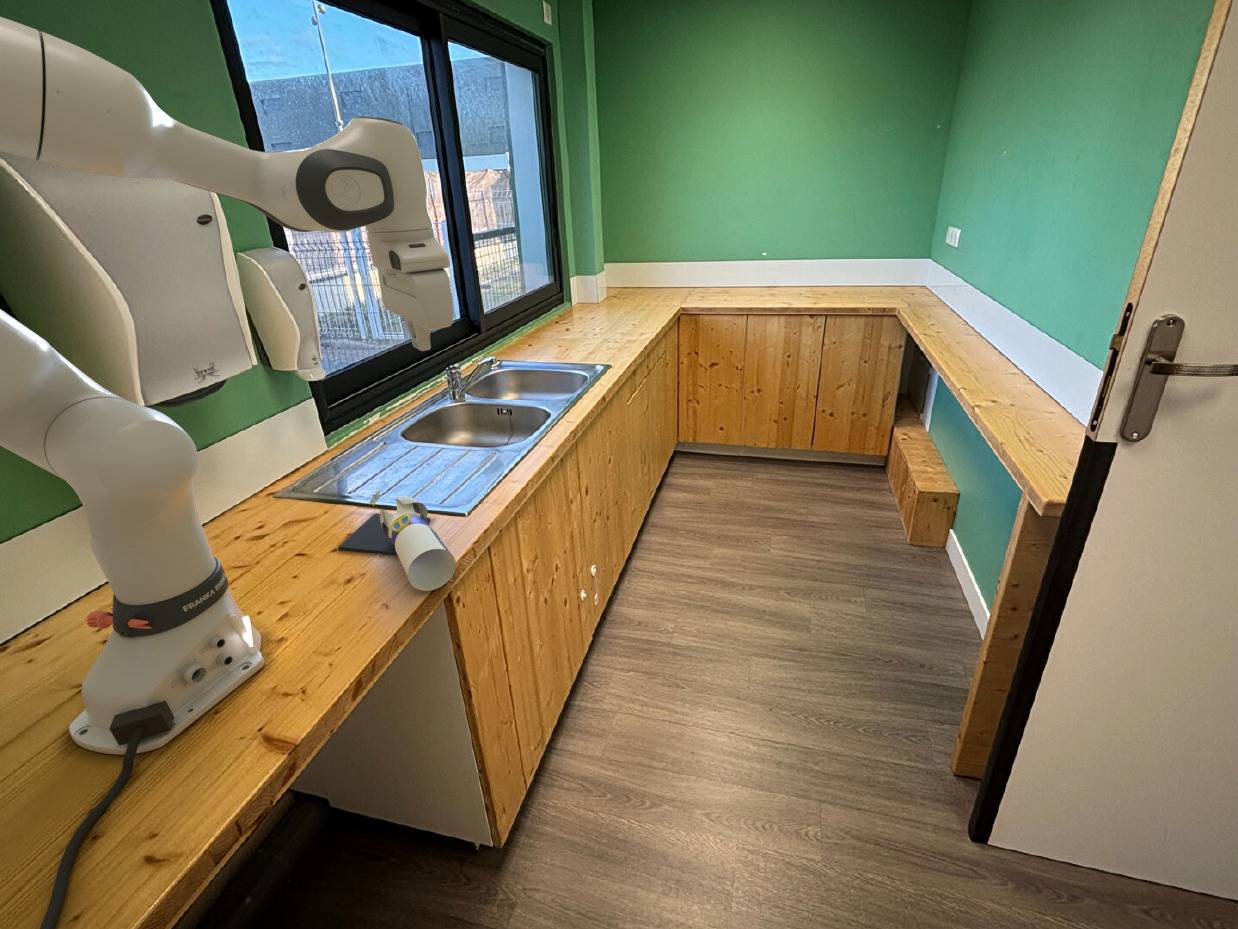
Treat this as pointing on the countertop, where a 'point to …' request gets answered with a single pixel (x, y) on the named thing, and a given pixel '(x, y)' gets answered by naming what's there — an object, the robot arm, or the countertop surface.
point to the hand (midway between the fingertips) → (422, 348)
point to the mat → (370, 538)
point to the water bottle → (417, 544)
